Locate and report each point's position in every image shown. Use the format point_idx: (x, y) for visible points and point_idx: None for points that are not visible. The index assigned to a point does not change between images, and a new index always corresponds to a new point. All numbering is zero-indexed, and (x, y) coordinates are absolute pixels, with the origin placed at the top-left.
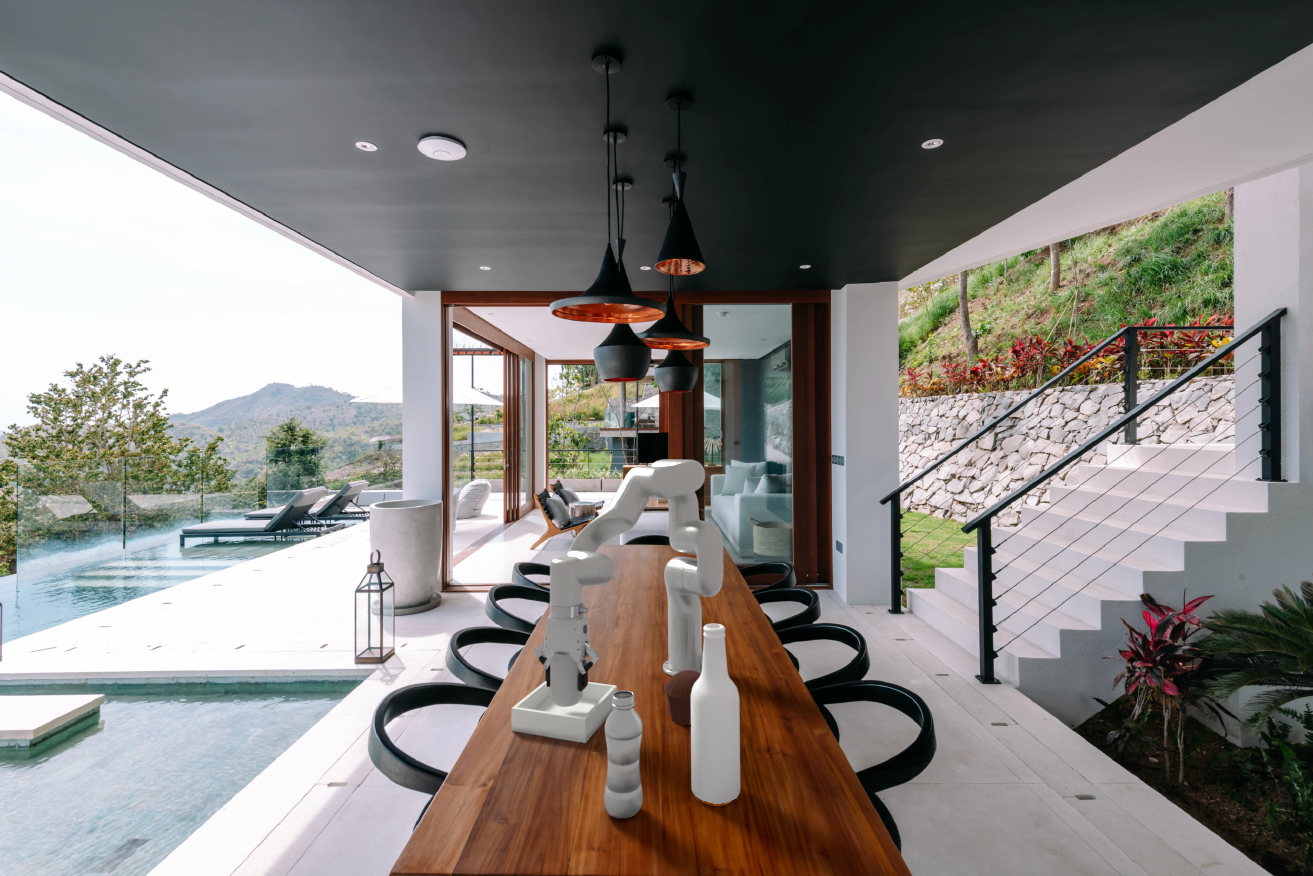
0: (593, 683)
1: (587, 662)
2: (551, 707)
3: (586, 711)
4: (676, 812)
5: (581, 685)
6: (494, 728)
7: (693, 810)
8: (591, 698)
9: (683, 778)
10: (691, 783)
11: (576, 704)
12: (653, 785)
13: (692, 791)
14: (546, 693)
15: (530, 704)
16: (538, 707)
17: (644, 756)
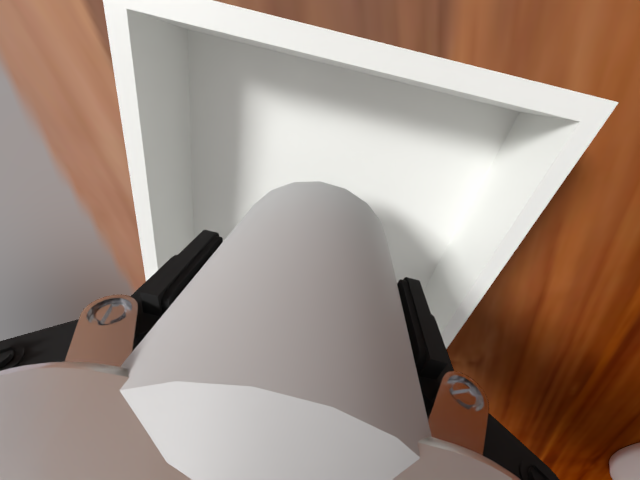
0: (444, 75)
1: (480, 445)
2: (245, 173)
3: (393, 200)
4: (558, 475)
5: None
6: (141, 273)
7: (588, 475)
8: (410, 84)
9: (611, 430)
10: (620, 477)
11: (341, 138)
12: (540, 438)
13: (610, 470)
14: (173, 95)
15: (176, 234)
16: (197, 177)
17: (550, 378)
